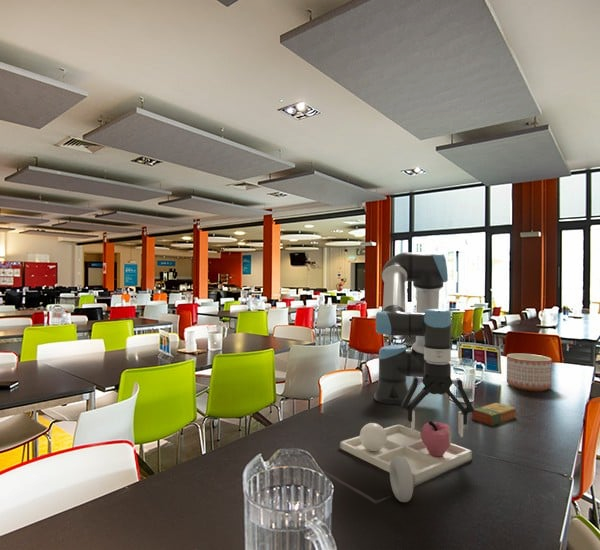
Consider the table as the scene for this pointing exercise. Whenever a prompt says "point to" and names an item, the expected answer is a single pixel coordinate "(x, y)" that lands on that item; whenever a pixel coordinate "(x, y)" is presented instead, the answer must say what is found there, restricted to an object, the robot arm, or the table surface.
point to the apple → (436, 437)
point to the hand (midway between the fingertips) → (436, 433)
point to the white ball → (373, 437)
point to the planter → (529, 372)
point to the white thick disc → (401, 478)
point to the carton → (494, 413)
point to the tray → (408, 453)
